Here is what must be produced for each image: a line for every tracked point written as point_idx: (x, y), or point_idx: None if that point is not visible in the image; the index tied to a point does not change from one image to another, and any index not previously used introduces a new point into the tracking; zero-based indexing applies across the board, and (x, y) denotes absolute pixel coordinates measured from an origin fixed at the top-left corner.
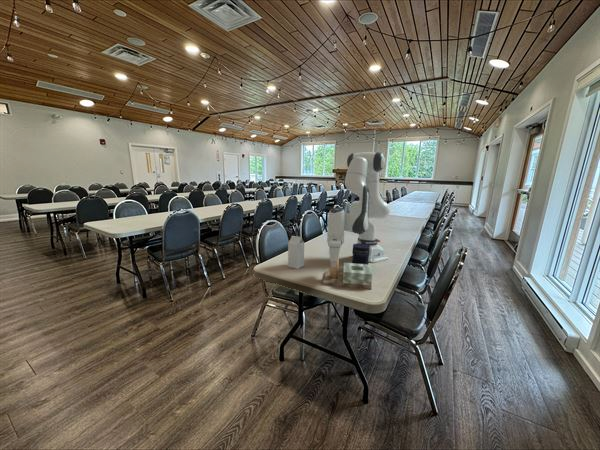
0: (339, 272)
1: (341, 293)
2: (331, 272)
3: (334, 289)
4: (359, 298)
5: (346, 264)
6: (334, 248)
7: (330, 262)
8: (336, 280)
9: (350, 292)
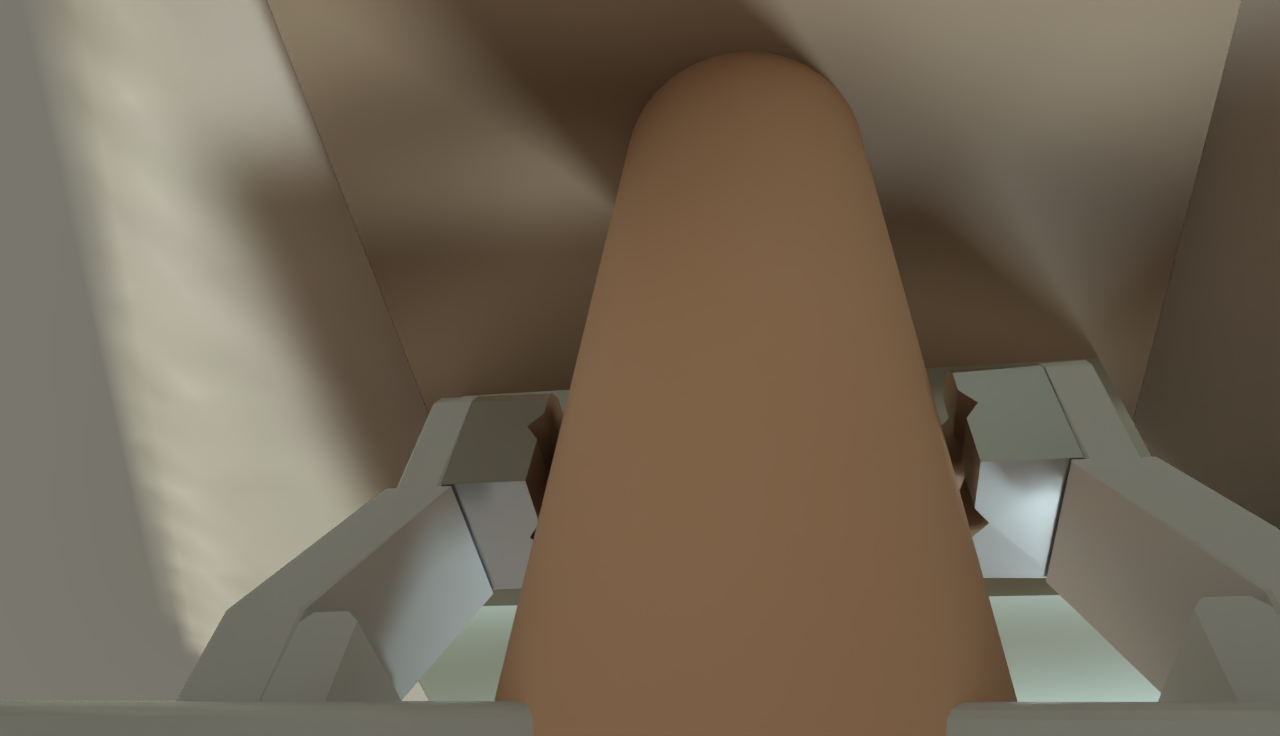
0: (1107, 267)
1: (162, 365)
2: (619, 193)
3: (226, 236)
4: (197, 571)
5: (1027, 645)
6: None
7: (650, 346)
8: (532, 264)
9: (295, 476)
